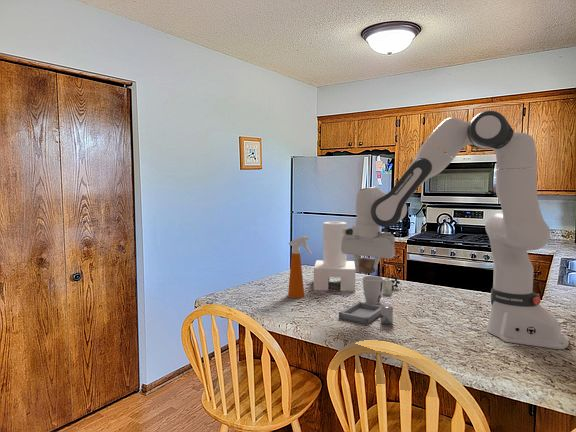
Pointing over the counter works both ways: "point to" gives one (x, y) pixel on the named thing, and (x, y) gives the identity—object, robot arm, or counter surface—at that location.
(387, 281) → the valve
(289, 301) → the counter surface
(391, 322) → the metal cylinder
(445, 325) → the counter surface
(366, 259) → the walnut block
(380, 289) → the cup
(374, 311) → the parts tray
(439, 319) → the counter surface
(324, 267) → the white cylinder stand
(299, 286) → the spray bottle
